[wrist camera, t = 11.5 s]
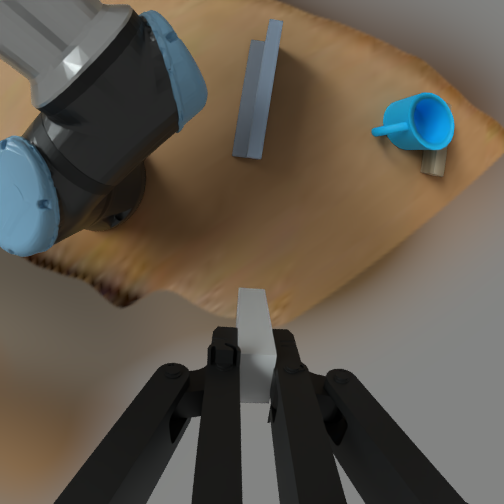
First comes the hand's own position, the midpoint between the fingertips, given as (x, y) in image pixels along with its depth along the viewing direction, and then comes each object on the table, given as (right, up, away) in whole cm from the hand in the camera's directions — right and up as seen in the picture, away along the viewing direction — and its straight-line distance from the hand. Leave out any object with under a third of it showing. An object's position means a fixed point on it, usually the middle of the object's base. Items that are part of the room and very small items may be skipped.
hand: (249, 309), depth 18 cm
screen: (+1, +25, +22) cm, 34 cm away
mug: (+22, +23, +24) cm, 40 cm away
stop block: (+29, +22, +24) cm, 44 cm away
